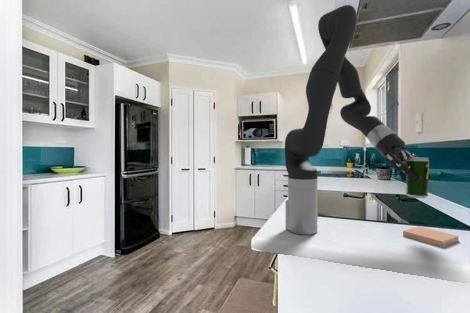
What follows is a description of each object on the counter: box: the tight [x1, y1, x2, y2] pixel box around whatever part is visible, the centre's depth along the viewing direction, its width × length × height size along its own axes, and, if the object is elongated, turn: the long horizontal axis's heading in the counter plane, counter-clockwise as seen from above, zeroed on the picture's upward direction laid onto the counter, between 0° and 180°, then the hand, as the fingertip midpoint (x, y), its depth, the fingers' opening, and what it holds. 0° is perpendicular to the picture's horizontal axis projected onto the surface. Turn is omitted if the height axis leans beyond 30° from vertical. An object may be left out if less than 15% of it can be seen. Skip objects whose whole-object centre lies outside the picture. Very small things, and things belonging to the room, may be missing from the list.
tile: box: [402, 225, 459, 248], centre depth 72 cm, size 2×9×10 cm
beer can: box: [405, 156, 430, 199], centre depth 75 cm, size 5×5×12 cm
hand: (423, 179), depth 73 cm, fingers closed on beer can, 5 cm apart
